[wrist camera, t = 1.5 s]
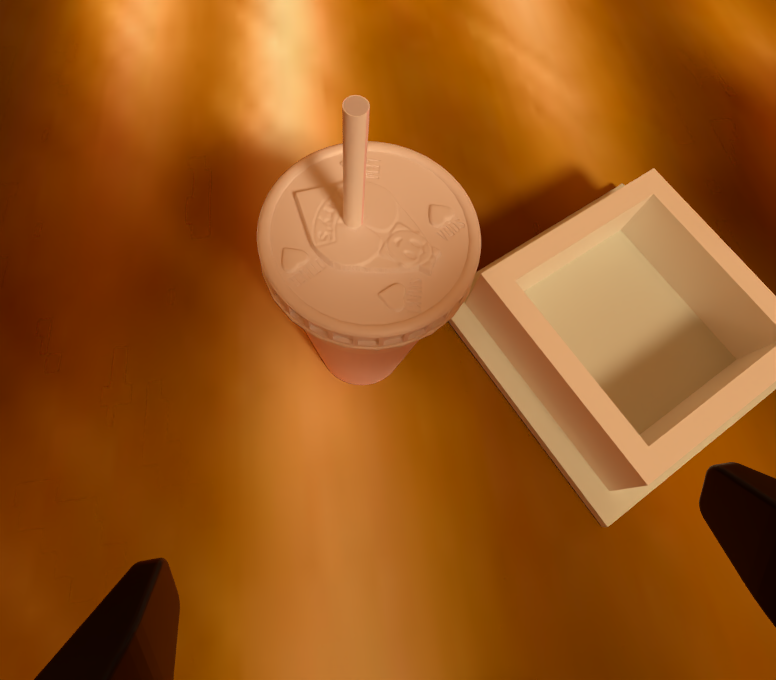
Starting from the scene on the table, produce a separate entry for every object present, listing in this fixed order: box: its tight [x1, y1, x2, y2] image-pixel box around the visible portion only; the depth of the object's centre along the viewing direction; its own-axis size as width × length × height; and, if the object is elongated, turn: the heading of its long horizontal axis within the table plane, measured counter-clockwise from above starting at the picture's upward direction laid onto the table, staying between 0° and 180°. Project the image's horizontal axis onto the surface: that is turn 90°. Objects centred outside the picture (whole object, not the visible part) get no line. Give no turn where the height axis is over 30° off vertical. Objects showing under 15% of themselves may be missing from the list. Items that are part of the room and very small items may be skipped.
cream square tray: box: [448, 168, 776, 527], centre depth 23 cm, size 12×12×4 cm
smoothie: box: [257, 95, 481, 385], centre depth 17 cm, size 6×6×14 cm
